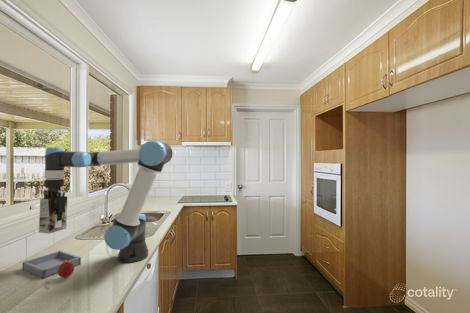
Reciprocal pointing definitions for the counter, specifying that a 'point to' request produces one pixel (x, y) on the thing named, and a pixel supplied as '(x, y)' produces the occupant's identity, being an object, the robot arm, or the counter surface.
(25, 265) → the tray
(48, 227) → the coffee box
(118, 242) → the robot arm
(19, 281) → the counter surface
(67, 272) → the onion
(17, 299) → the counter surface
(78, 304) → the counter surface
